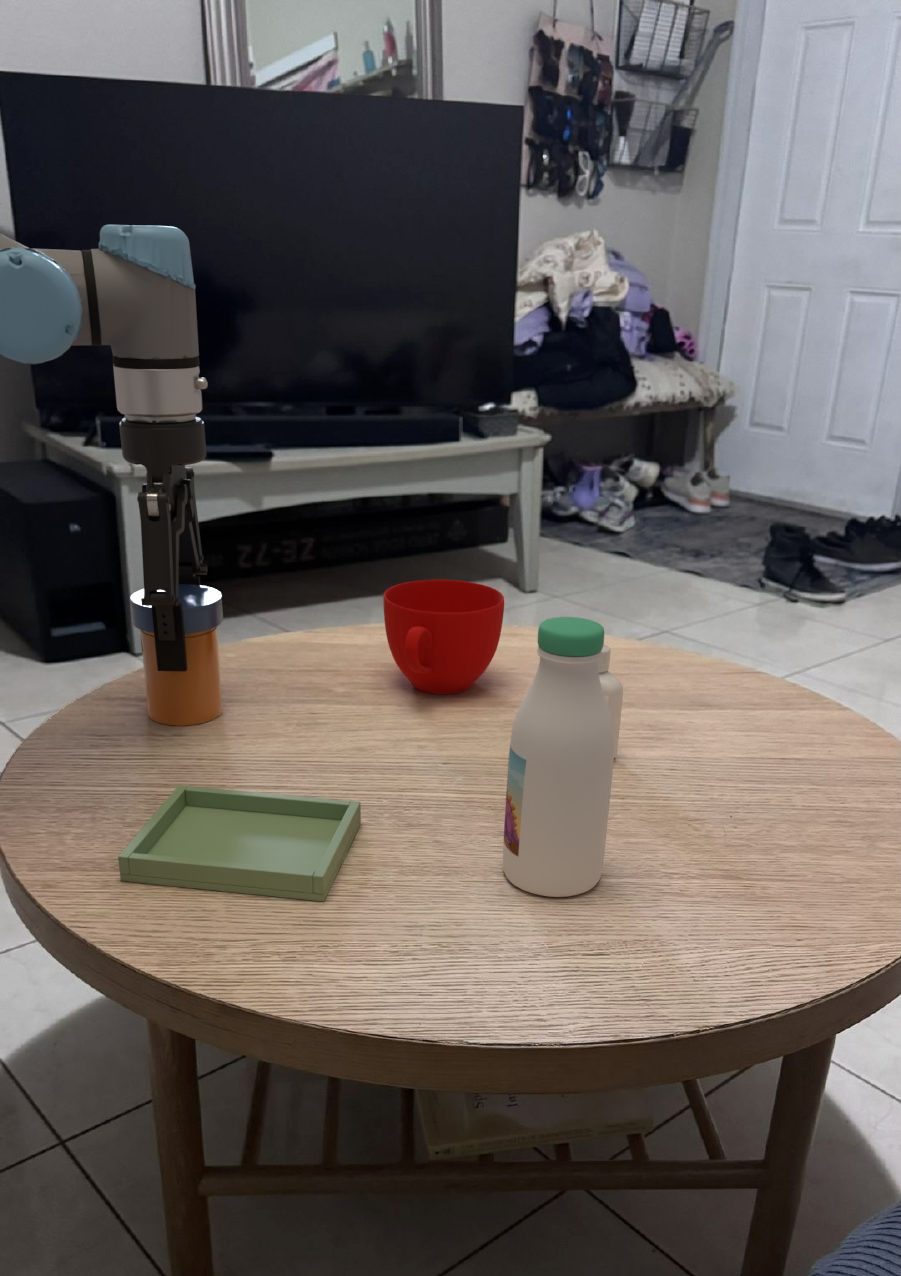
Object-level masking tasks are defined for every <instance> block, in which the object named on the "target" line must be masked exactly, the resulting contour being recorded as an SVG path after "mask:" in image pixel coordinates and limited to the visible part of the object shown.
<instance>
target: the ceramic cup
mask: <svg viewBox="0 0 901 1276" xmlns="http://www.w3.org/2000/svg"><path fill="white" fill-rule="evenodd" d="M383 593H384V594H383V599H382V601H383V602H382V603H383V604H382V605H383V620H384V627H385V634H386V639H387V644H388V647H389V651H390V652H391V655H392V658H393V660H394V663H395V664H396V666H397V667H398V669H399V670H400V672H401V673H402V674H403V675H404V676H405V677H406V679H407V680H408V681H409V682H411V685H412V686H413V687H414V688H415V689H417V690H419V691H422V692H425V693H429V694H436V695H451V694H458V693H462V692H465V691H467V690H469V689H471V687H472V686H473V684H475V682H476V681H477V680H478V679H480V677H481V676H482V675H483V674H484V673H485V671H486V670H487V669H488V667H489V665H490V664H491V662H492V660H493V658H494V656H495V654H496V652H497V649H498V646H499V643H500V639H501V633H502V628H503V621H504V613H505V597H504V595H503V594H502V592H501V591H499V590H497V589H496V588H493V587H491V586H489V585H485V584H483V583H482V584H481V583H477V582H472V581H465V580H453V579H423V580H413V581H407V582H402V583H398V584H396V585H393V586H390V587H389V588H387V589H386V590H385V591H384V592H383Z"/></svg>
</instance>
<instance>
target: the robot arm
mask: <svg viewBox="0 0 901 1276" xmlns="http://www.w3.org/2000/svg"><path fill="white" fill-rule="evenodd" d="M190 245H191V244H190V241H189V238H188V236H187V234H186V233H185V232H184V231H183V230H181V229H180V228H178V227H175V226H171V225H169V226H167V225H135V224H132V225H129V224H105V225H103V226H102V227H101V228H100V231H99V242H98V248H90V249H81V250H73V249H51V248H33V247H32V248H30V247H28V246H26V245H24V244H22V243H20V242H18V241H16V240H14V239H12V238H10V237H8V236H6V235H4V234H2V233H0V356H2V357H4V358H6V359H9V360H12V361H15V362H17V363H19V364H25V365H38V364H39V365H41V364H44V363H46V362H49V361H52V360H55V359H58V358H59V357H61V356H63V355H64V354H65V353H66V352H68V350H70V348H71V347H72V346H75V347H76V346H94V347H100V346H110V348H111V349H110V350H111V352H112V367H113V378H114V389H115V390H114V391H115V401H116V408H117V411H118V412H119V413H120V414H121V415H124V417H123V418H122V419H121V420H120V422H119V423H118V426H119V435H120V444H121V454H122V458H123V459H124V461H125V462H127V463H129V464H132V465H135V466H136V465H137V466H138V465H141V466H143V467H144V468H145V470H146V473H145V475H146V476H145V477H146V478H145V479H146V480H145V481H146V483H142V485H141V491H139V492H138V493H137V498H136V500H137V503H138V509H139V510H138V511H139V517H140V518H139V519H140V533H141V534H140V536H141V553H142V555H141V556H142V576H143V578H142V579H143V589H144V598H141V603H142V606H151V608H152V618H153V628H154V638H155V649H156V659H157V669H158V671H187V669H188V667H187V655H186V644H185V632H184V620H183V609H182V603H178V602H179V584H191V585H201V576H200V575H205V576H207V574H208V564H203V562H204V555H203V549H202V541H201V533H200V524H199V518H198V516H199V515H198V507H197V500H196V492H195V491H196V489H195V471H194V468H193V467H186V466H189V465H194V464H198V463H201V462H202V461H204V460H205V459H206V457H207V446H206V444H207V443H206V431H205V422H204V421H203V420H202V418H200V416H197V414H199V413H201V412H202V410H203V395H202V390H206V389H207V388H208V386H209V385H208V383H209V382H208V381H207V379H206V377H200V372H201V370H200V357H199V356H200V351H199V334H198V332H199V331H198V317H197V315H198V314H197V301H196V300H197V299H196V298H197V297H196V286H197V285H196V284H195V280H194V272H193V271H194V269H193V263H192V253H191V246H190ZM198 575H199V576H198ZM201 586H202V585H201ZM157 590H164V591H157Z"/></svg>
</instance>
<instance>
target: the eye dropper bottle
mask: <svg viewBox="0 0 901 1276" xmlns="http://www.w3.org/2000/svg"><path fill="white" fill-rule="evenodd" d="M611 652H612V651H611V647H610V646H609V645H606V644H605V643H604V644H603V648H602V658H601V659H600V660H599V661H598V673H599V679H600V683H601V688H602V691H603V694H604V697H605V700H606V702H607V705H608V707H609V710H610V713H611V717H612V721H613V728H614V759H615V758H616V757H617V755H618V750H619V749H618V748H619V740H620V739H619V738H620V730H621V719H622V709H623V708H622V707H623V699H624V698H623V696H624V685H623V684H622V682H621V681H620V680H619V679H618V677H617V676H616V675H614V674H613V673H611V672H610V671H609V670H610V660H611Z"/></svg>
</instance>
